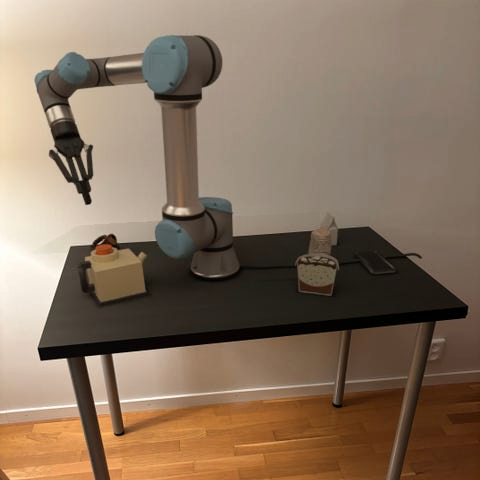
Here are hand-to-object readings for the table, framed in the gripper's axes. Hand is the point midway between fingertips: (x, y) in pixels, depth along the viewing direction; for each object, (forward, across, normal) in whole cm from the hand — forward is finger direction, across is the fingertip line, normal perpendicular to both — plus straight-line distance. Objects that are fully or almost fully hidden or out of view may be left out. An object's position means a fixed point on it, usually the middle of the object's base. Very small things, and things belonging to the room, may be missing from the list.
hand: (88, 203), depth 144 cm
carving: (+38, -60, +14) cm, 73 cm away
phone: (+43, -76, +21) cm, 90 cm away
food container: (+45, -50, +24) cm, 71 cm away
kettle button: (+16, +1, +3) cm, 16 cm away
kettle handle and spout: (+27, 0, -1) cm, 27 cm away
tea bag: (+30, -77, +1) cm, 83 cm away
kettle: (+27, 0, -1) cm, 27 cm away
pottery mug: (+11, -7, -26) cm, 29 cm away
